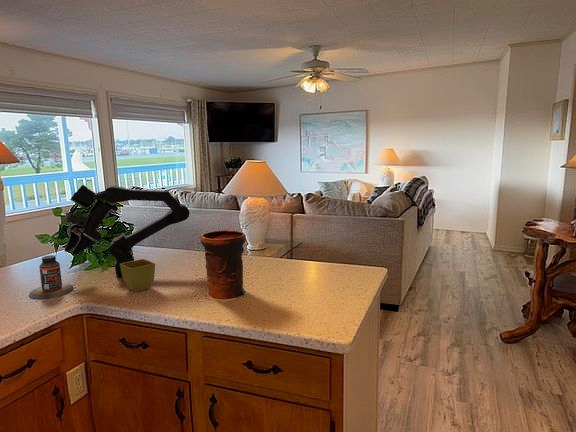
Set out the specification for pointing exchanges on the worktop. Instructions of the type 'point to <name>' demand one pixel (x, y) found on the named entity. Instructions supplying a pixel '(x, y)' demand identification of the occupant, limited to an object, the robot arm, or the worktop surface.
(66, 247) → the robot arm
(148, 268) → the flower pot
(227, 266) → the vessel
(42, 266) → the supplement bottle
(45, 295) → the coaster
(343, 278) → the worktop surface
